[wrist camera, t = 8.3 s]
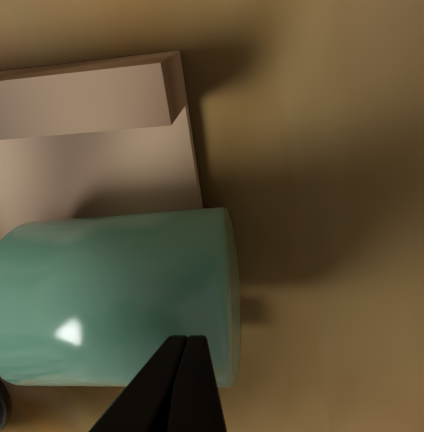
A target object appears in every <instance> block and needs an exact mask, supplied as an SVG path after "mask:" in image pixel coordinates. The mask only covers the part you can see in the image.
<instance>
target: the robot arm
mask: <svg viewBox="0 0 424 432" xmlns="http://www.w3.org/2000/svg"><path fill="white" fill-rule="evenodd" d="M89 432H227V429H226V424H225V419H224V415H223V410H222V406H221V401H220V396H219V392H218V387H217V382H216V378H215V373H214V368H213V364H212V359H211V354H210V350H209V345H208V340H207V337H206V336H205V335H190V336H189V337H187V336H186V335H171V336H169V337H168V338H167V339H166V340H165V341H164V342H163V343H162V345H161V346H160V347H159V348H158V349H157V351H156V352H155V353H154V354H153V355H152V356H151V358H150V359H149V360H148V361H147V362H146V364H145V365H144V366H143V367H142V368H141V370H140V371H139V372H138V373H137V374H136V376H135V377H134V378H133V379H132V380H131V382H130V383H129V384H128V385H127V386H126V388H125V389H124V390H123V391H122V392H121V393H120V395H119V396H118V397H117V398H116V399H115V401H114V402H113V403H112V404H111V405H110V407H109V408H108V409H107V410H106V411H105V413H104V414H103V415H102V416H101V417H100V419H99V420H98V421H97V422H96V423H95V424H94V426H93V427H92V428H91V429H90V430H89Z"/></svg>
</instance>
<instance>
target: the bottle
mask: <svg viewBox="0 0 424 432" xmlns="http://www.w3.org/2000/svg"><path fill="white" fill-rule="evenodd" d="M171 335H186V336H187V337H189V336H190V335H205V336H206V337H207V340H208V345H209V350H210V354H211V359H212V364H213V368H214V373H215V378H216V382H217V387H233V386H234V385H235V382H236V379H237V375H238V368H239V360H240V344H241V300H240V281H239V268H238V258H237V250H236V242H235V236H234V231H233V226H232V222H231V218H230V215H229V212H228V210H227V209H226V208H225V207H217V208H204V209H191V210H178V211H165V212H152V213H139V214H125V215H112V216H99V217H86V218H73V219H60V220H47V221H34V222H27V223H24V224H21V225H19V226H17V227H15V228H14V229H12V230H11V231H10V232H9V233H7V234H6V235H5V236H4V238H3V239H2V240H1V241H0V377H1V378H2V379H4V380H5V381H7V382H9V383H11V384H15V385H21V386H123V387H126V386H127V385H128V384H129V383H130V382H131V380H132V379H133V378H134V377H135V376H136V374H137V373H138V372H139V371H140V370H141V368H142V367H143V366H144V365H145V364H146V362H147V361H148V360H149V359H150V358H151V356H152V355H153V354H154V353H155V352H156V351H157V349H158V348H159V347H160V346H161V345H162V343H163V342H164V341H165V340H166V339H167V338H168V337H169V336H171Z"/></svg>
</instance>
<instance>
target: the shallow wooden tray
mask: <svg viewBox="0 0 424 432" xmlns="http://www.w3.org/2000/svg"><path fill="white" fill-rule="evenodd" d="M191 209H203V204H202V197H201V190H200V184H199V177H198V170H197V163H196V157H195V150H194V143H193V136H192V129H191V123H190V116H189V109H188V102H187V96H186V89H185V82H184V75H183V69H182V62H181V55H180V50H177V51H168V52H160V53H151V54H143V55H134V56H126V57H117V58H108V59H100V60H91V61H83V62H74V63H66V64H57V65H49V66H40V67H32V68H23V69H15V70H6V71H0V241H1V240H2V239H3V238H4V236H5V235H6V234H7V233H9V232H10V231H11V230H12V229H14V228H15V227H17V226H19V225H21V224H24V223H27V222H34V221H47V220H60V219H73V218H86V217H99V216H112V215H125V214H139V213H152V212H165V211H178V210H191Z"/></svg>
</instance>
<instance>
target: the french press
mask: <svg viewBox="0 0 424 432" xmlns="http://www.w3.org/2000/svg"><path fill="white" fill-rule="evenodd" d="M10 411H11V403H10V398H9V395H8V393H7V391H6V389H5V387H4V386H3V384H2V383H1V382H0V430H1V429H2V428H3V427H4V425H5V423H6V422H7V420H8V419H9V416H10Z"/></svg>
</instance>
